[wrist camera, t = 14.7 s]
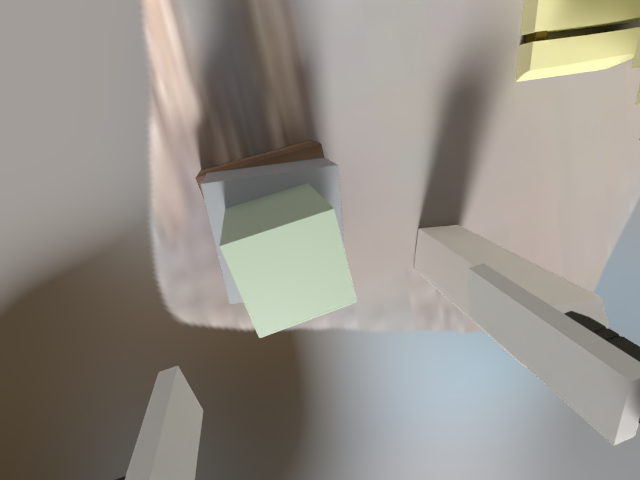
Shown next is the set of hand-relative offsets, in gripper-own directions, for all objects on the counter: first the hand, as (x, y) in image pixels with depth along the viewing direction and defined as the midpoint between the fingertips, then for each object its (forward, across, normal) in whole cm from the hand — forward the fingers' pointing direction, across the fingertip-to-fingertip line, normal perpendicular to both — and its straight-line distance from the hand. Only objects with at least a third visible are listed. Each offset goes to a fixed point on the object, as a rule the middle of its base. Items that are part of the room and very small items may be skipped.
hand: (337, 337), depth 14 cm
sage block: (+15, -1, 0) cm, 15 cm away
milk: (+24, +19, -12) cm, 33 cm away
